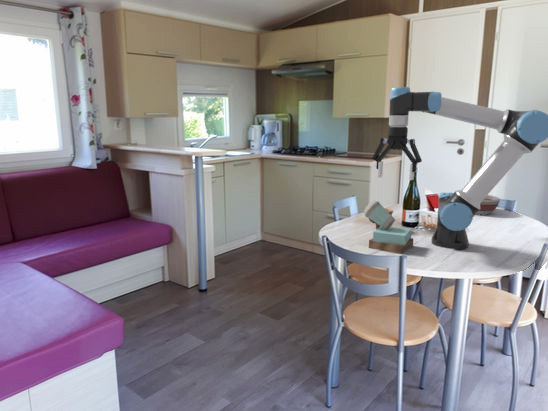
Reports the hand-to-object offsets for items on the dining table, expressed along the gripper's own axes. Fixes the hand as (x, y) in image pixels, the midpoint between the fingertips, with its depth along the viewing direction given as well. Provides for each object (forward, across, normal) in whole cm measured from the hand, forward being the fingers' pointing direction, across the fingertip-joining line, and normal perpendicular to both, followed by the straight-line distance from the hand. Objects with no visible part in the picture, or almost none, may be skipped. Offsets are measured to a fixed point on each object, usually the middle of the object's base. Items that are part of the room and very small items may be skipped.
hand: (395, 178), depth 183 cm
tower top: (+26, 0, 0) cm, 26 cm away
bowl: (+30, -11, -94) cm, 99 cm away
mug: (+30, +17, -24) cm, 42 cm away
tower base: (+30, 0, 0) cm, 30 cm away
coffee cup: (+20, +1, 0) cm, 20 cm away
